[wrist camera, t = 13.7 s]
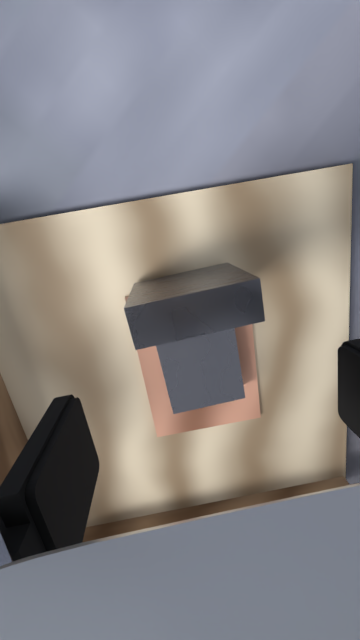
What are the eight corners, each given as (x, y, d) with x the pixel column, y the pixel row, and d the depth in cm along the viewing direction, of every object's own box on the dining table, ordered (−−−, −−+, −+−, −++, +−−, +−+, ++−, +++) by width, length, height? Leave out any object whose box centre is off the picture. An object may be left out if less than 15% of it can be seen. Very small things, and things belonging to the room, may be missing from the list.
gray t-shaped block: (134, 282, 18) (123, 308, 12) (227, 262, 18) (260, 278, 12) (165, 403, 21) (168, 469, 15) (246, 384, 21) (279, 443, 15)
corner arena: (55, 538, 25) (28, 620, 20) (-74, 238, 17) (-177, 242, 12) (339, 482, 26) (386, 547, 21) (344, 166, 18) (424, 139, 12)
